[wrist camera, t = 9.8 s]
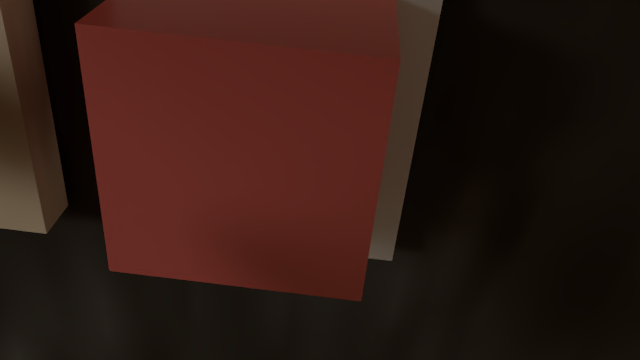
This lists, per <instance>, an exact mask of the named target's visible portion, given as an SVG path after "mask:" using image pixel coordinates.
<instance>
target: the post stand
mask: <svg viewBox="0 0 640 360" xmlns="http://www.w3.org/2000/svg"><path fill="white" fill-rule="evenodd" d="M67 206H68V202H67V196H66V190H65V184H64V178H63V173H62V167H61V161H60V155H59V150H58V144H57V138H56V132H55V127H54V121H53V115H52V109H51V104H50V98H49V92H48V86H47V80H46V75H45V69H44V63H43V57H42V52H41V46H40V40H39V34H38V29H37V23H36V17H35V11H34V6H33V0H0V228H4V229H12V230H20V231H28V232H37V233H45V234H47V232H48V231H49V230H50V228H51V227H52V226H53V225H54V223H55V222H56V221H57V219H58V218H59V217H60V215H61V214H62V213H63V212H64V210H65V209H66V208H67Z"/></svg>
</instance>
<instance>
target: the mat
mask: <svg viewBox="0 0 640 360" xmlns="http://www.w3.org/2000/svg"><path fill="white" fill-rule="evenodd" d="M396 3H397V16H398V30H399V43H400V57H401V61H400V67H399V73H398V79H397V85H396V91H395V97H394V103H393V109H392V116H391V122H390V128H389V134H388V140H387V146H386V152H385V158H384V164H383V170H382V177H381V183H380V189H379V195H378V201H377V207H376V213H375V219H374V225H373V231H372V238H371V244H370V250H369V256H368V258H373V259H381V260H389V261H392V258H393V253H394V248H395V242H396V237H397V232H398V227H399V222H400V217H401V212H402V207H403V202H404V197H405V192H406V186H407V181H408V176H409V171H410V166H411V161H412V156H413V151H414V146H415V141H416V135H417V130H418V125H419V120H420V115H421V110H422V105H423V100H424V95H425V90H426V84H427V79H428V74H429V69H430V64H431V59H432V54H433V49H434V44H435V39H436V33H437V28H438V23H439V18H440V13H441V8H442V3H443V0H396Z"/></svg>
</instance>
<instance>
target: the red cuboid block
mask: <svg viewBox="0 0 640 360" xmlns="http://www.w3.org/2000/svg"><path fill="white" fill-rule="evenodd" d="M74 24H75V31H76V38H77V45H78V52H79V59H80V66H81V73H82V80H83V87H84V94H85V101H86V109H87V116H88V123H89V130H90V137H91V144H92V151H93V158H94V165H95V172H96V179H97V186H98V193H99V200H100V208H101V215H102V222H103V229H104V236H105V243H106V250H107V257H108V264H109V271H116V272H124V273H132V274H140V275H149V276H157V277H165V278H173V279H182V280H190V281H198V282H206V283H214V284H223V285H231V286H239V287H247V288H255V289H264V290H272V291H280V292H288V293H297V294H305V295H313V296H321V297H329V298H338V299H346V300H354V301H361V299H362V292H363V286H364V280H365V274H366V268H367V262H368V256H369V250H370V244H371V238H372V231H373V225H374V219H375V213H376V207H377V201H378V195H379V189H380V183H381V177H382V170H383V164H384V158H385V152H386V146H387V140H388V134H389V128H390V122H391V116H392V109H393V103H394V97H395V91H396V85H397V79H398V73H399V67H400V61H401V57H400V43H399V30H398V16H397V3H396V0H106V1H104V2H103V3H101V4H100V5H99V6H97V7H96V8H95V9H93V10H92V11H91V12H89V13H88V14H87V15H85V16H84V17H82V18H81V19H80V20H78V21H77V22H76V23H74Z"/></svg>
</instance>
